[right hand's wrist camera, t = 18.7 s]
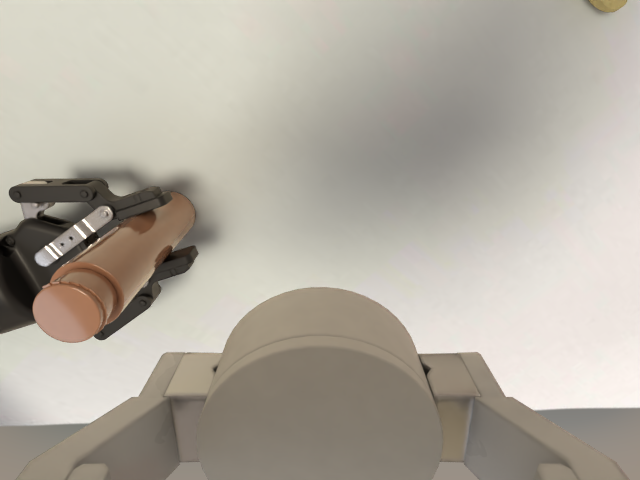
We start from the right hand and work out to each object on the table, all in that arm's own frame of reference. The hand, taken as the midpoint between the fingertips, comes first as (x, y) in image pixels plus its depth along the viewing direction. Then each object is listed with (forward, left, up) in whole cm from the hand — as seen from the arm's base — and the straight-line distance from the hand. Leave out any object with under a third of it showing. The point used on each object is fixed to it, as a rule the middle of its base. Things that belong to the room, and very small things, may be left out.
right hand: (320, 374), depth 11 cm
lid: (0, 0, +2) cm, 2 cm away
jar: (+13, -5, -28) cm, 32 cm away
